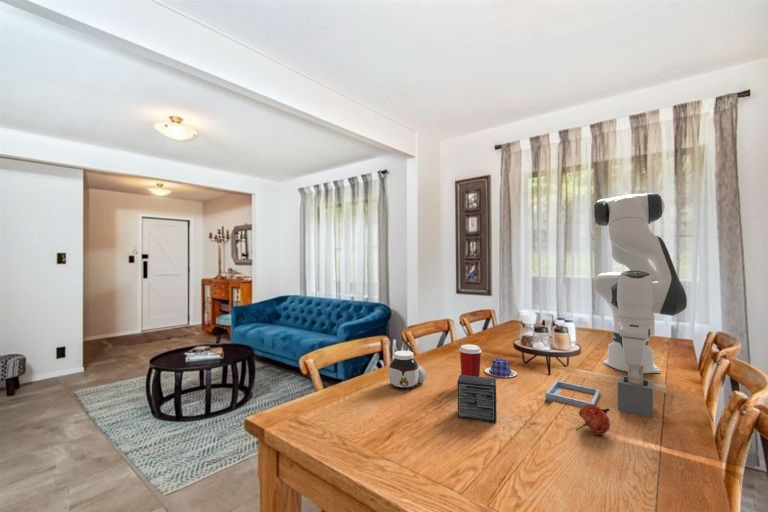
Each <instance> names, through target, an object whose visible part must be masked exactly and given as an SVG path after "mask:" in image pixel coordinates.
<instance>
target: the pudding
mask: <svg viewBox="0 0 768 512" xmlns="http://www.w3.org/2000/svg"><path fill="white" fill-rule="evenodd" d="M489 370H490V371H489ZM511 371H512V372H513V373H514V374H513V376H511V374H512V373H511ZM484 372H485V373H486V374H488V375H490V376H492V377H496V378H505V377H508V376H509V377H508V378H513V377H516V376H517V374H518V373H517V371H516V370H514V369H511V366H510V362H509V361H508V360H507V359H504V358H494V359H492V362H491V366H490V367H487V368H484ZM504 376H505V377H504Z"/></svg>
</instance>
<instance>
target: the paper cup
mask: <svg viewBox="0 0 768 512" xmlns="http://www.w3.org/2000/svg"><path fill="white" fill-rule="evenodd" d="M458 351H459V355H460V356H459V357H460V359H459V360H460V372H461V373H460V375H466V376H476V377H481V376H480V372H481V356H482V355H481V354H482V349H481V347H480V346H479V345H477V344H463V345H462V344H461V346H460V347H459V349H458Z"/></svg>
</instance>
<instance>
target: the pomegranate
mask: <svg viewBox="0 0 768 512" xmlns="http://www.w3.org/2000/svg"><path fill="white" fill-rule="evenodd" d="M610 411H611V409H610V408H609V407H608V408H604V409H603V408H600V406H597V405H590V404H587V405H584V406H583V407H581V408H579V411H578V416H579V417H580V418H581V419H583V422H584V423H583V424H582V425H581V426H579V427H578V428H576V429H575V431H578V430H580V429H583V428H584V427H585V426H587V427H588V428H589V429H590V430H592V432H593V434H595V435H596V436H602V435H604V434H606V433H607V432H608V431H609V430H610V427H611V420H610V417H609V416H608V415H607V414H608V412H610Z"/></svg>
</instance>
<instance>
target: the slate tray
mask: <svg viewBox="0 0 768 512" xmlns="http://www.w3.org/2000/svg"><path fill="white" fill-rule="evenodd" d="M563 389H570V390H574V391H578V392H582V393H587V394H593V397H592V399H591V402H590V401H585V400H582V399H577V398H572V397H569V396H568V397H567V396H564V395H560V393H561V392H562V390H563ZM600 396H601V389H598V388H594V387H589V386H584V385H579V384H573V383H569V382H564V381H560V380H555V381H554V382H553V384H552V385H551V386H550V387H549V388H548V389H547V390H546V392H545V402H548V403H554V401H557V402H561V403H565V404H569V405H574V406H577V407H581V408H582V407H583V406H584V405H587V404H590V405H595V406H597V405H596V404H597V403H598V400H599V398H600Z"/></svg>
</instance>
